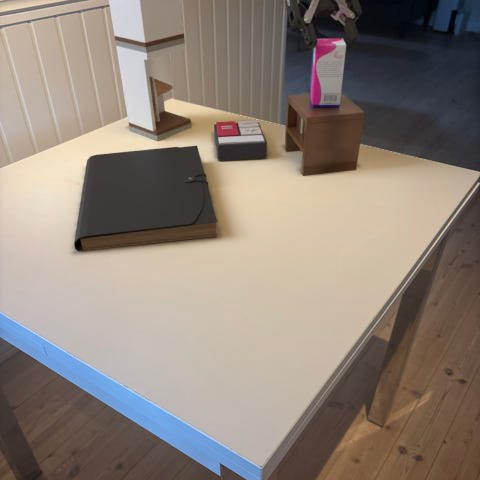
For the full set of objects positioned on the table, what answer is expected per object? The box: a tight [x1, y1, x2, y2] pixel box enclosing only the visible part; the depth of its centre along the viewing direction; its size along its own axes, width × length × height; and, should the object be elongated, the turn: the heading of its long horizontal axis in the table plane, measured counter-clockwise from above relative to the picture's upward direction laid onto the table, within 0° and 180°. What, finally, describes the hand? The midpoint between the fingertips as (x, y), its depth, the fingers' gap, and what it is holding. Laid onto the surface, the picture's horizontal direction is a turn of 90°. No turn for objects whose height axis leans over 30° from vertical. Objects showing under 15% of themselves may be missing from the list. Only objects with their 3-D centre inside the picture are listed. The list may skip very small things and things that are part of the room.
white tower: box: [108, 0, 192, 142], centre depth 112 cm, size 11×11×35 cm
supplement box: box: [310, 37, 347, 108], centre depth 97 cm, size 6×6×12 cm
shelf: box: [284, 92, 366, 176], centre depth 105 cm, size 12×14×12 cm
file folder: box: [73, 145, 218, 252], centre depth 94 cm, size 33×4×24 cm
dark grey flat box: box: [213, 119, 268, 162], centre depth 113 cm, size 11×4×15 cm
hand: (334, 43), depth 92 cm, fingers open, 8 cm apart
